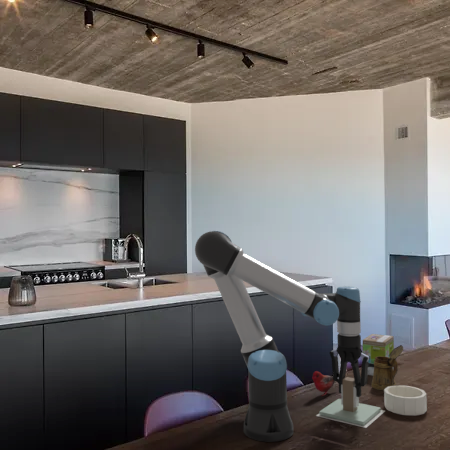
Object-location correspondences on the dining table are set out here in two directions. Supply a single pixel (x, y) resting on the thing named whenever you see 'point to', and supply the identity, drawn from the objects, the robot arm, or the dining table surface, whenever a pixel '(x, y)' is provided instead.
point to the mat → (355, 423)
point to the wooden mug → (386, 370)
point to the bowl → (405, 400)
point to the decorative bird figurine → (322, 382)
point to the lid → (350, 407)
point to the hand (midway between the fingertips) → (350, 404)
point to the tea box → (377, 348)
